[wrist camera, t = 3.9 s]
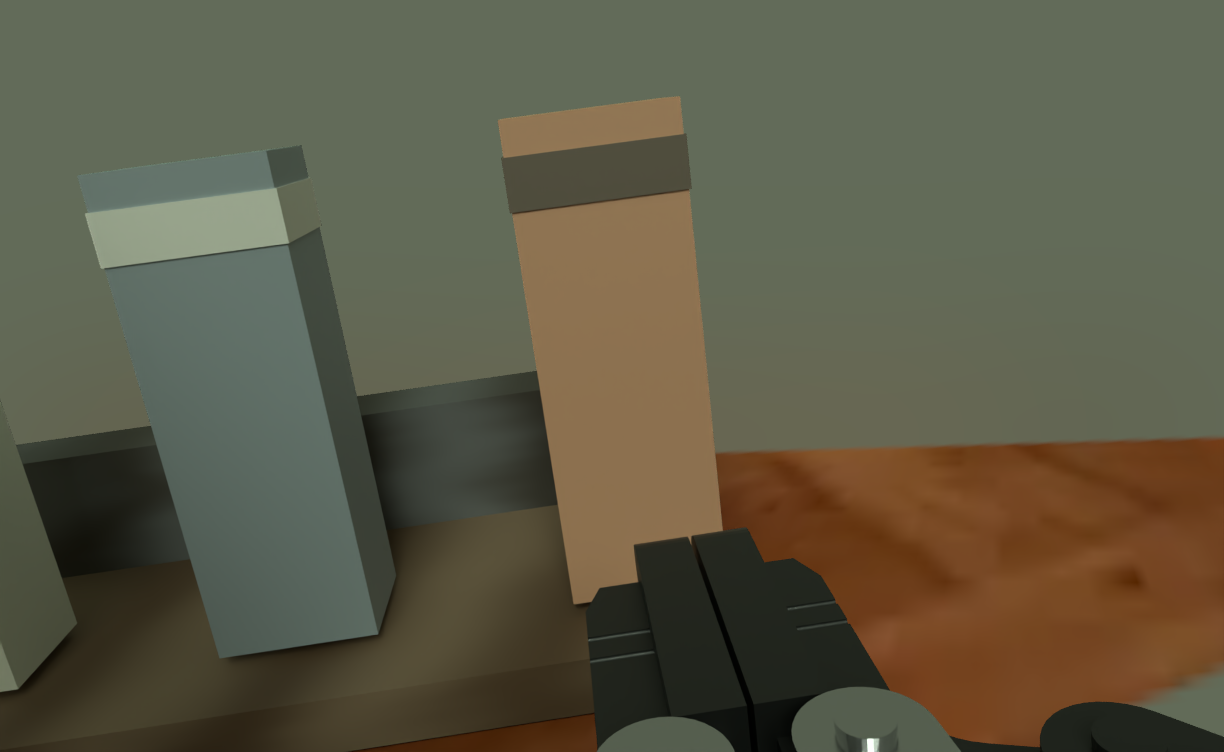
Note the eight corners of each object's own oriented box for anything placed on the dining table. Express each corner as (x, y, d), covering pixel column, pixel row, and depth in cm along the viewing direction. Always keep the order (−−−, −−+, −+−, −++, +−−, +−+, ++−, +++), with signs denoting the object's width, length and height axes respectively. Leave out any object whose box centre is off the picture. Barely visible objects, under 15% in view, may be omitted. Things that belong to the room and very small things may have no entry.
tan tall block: (571, 605, 23) (495, 120, 19) (568, 548, 26) (501, 118, 22) (729, 581, 23) (682, 95, 20) (708, 527, 26) (663, 97, 23)
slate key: (217, 659, 23) (73, 176, 19) (254, 595, 26) (136, 166, 22) (379, 635, 23) (267, 150, 19) (398, 574, 26) (303, 144, 22)
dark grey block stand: (-201, 837, 21) (-302, 633, 19) (46, 593, 31) (-5, 448, 30) (771, 684, 22) (753, 477, 20) (695, 496, 32) (679, 350, 31)
